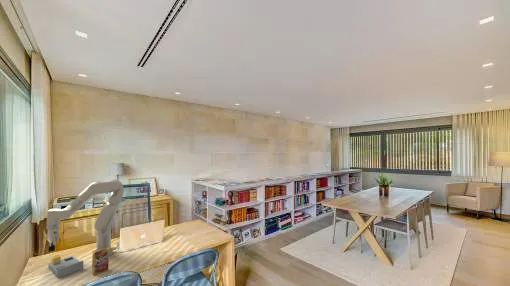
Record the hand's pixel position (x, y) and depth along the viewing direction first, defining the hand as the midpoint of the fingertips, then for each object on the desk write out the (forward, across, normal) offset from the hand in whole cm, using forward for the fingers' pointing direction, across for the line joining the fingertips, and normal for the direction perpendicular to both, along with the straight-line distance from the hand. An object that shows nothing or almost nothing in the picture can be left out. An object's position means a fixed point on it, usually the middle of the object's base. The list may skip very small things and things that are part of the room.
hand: (51, 251), depth 164 cm
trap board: (+9, -15, -4) cm, 18 cm away
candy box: (+8, -40, -17) cm, 44 cm away
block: (+6, -8, -1) cm, 10 cm away
